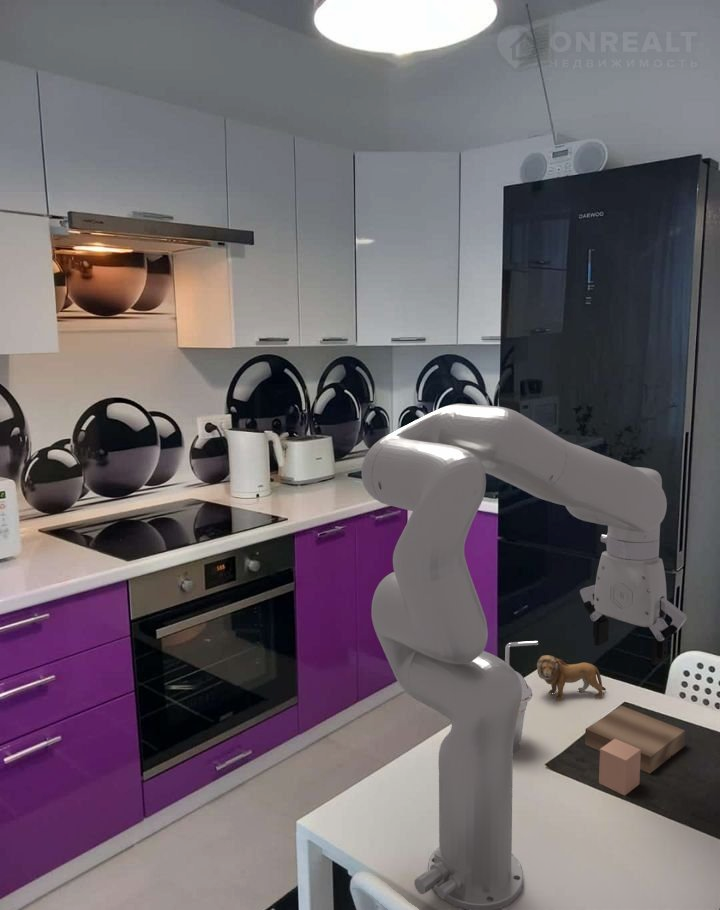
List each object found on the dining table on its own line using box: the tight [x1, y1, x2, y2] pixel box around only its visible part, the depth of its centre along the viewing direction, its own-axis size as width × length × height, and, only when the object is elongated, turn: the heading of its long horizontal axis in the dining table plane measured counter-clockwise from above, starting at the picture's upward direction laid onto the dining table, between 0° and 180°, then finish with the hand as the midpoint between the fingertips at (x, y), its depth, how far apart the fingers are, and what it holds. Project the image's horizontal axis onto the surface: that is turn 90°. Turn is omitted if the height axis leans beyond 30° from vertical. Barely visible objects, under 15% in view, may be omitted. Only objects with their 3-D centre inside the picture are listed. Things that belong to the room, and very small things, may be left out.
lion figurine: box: [536, 654, 607, 701], centre depth 147 cm, size 15×5×9 cm, turn 101°
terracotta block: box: [598, 739, 641, 796], centre depth 118 cm, size 4×4×6 cm
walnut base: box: [584, 705, 686, 775], centre depth 129 cm, size 12×12×3 cm
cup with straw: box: [504, 640, 540, 752], centre depth 129 cm, size 8×9×20 cm
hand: (628, 652), depth 117 cm, fingers open, 9 cm apart
